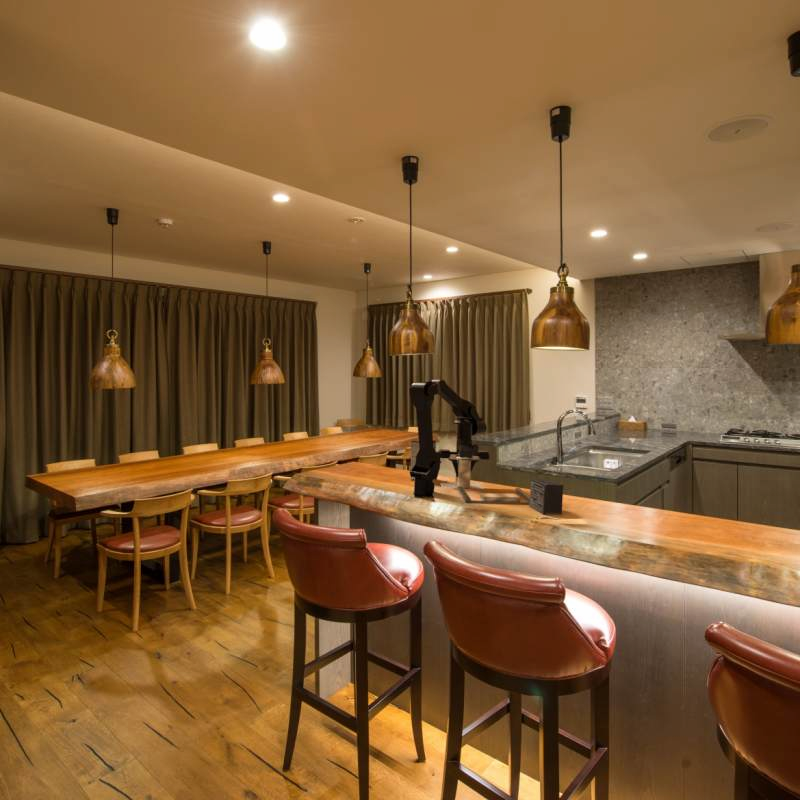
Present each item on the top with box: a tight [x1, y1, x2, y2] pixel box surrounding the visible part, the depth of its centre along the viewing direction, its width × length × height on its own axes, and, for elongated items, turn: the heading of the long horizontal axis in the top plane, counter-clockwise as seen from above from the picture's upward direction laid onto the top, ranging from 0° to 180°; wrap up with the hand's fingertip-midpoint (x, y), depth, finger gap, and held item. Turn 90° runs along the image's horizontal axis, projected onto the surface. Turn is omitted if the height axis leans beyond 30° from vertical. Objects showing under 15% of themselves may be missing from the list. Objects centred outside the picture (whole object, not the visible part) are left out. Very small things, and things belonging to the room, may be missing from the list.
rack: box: [456, 486, 530, 505], centre depth 176 cm, size 22×21×2 cm
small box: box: [529, 477, 564, 518], centre depth 158 cm, size 11×6×10 cm, turn 9°
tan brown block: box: [455, 457, 472, 489], centre depth 196 cm, size 4×10×10 cm, turn 1°
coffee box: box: [410, 439, 437, 480], centre depth 213 cm, size 9×6×16 cm
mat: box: [439, 482, 485, 490], centre depth 196 cm, size 16×14×1 cm
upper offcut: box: [479, 493, 521, 502], centre depth 170 cm, size 12×5×2 cm, turn 97°
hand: (462, 477), depth 196 cm, fingers closed on tan brown block, 4 cm apart
